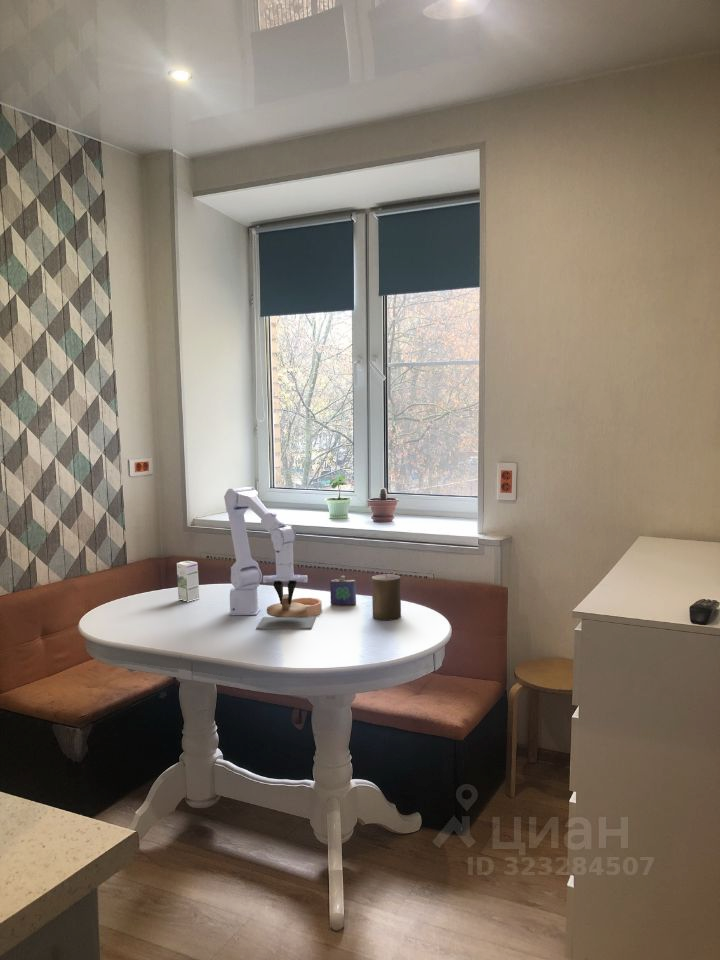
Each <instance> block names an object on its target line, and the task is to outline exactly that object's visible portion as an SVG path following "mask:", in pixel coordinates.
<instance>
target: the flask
mask: <svg viewBox="0 0 720 960" xmlns="http://www.w3.org/2000/svg"><path fill="white" fill-rule="evenodd" d="M345 577H346V576H345V575H340V578H337V579H336V578H335V579H331V580H330V582H329V584H330V585H329V586H330V606H334V607H337V606H338V607H343V606H348V607H349V606H351V607H352V606H356V604H357V592H356V591H357V590H356V589H357V588H356V584H357V583H356V580H355V579H347V580H346V579H345Z"/></svg>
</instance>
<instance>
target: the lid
mask: <svg viewBox="0 0 720 960" xmlns="http://www.w3.org/2000/svg"><path fill="white" fill-rule="evenodd" d="M305 612H306V606H305V605H304V604H301V603H296V602H292V603H291V604H289V603H288V593H286V594H285V593H283V597H282V604H281V603H280V602H278V603H274V604H271V605H269V606H267V608H266V614H267V615H268V616H269V617H295V616H298V615H301V614H303V613H305Z"/></svg>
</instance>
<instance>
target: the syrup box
mask: <svg viewBox="0 0 720 960" xmlns="http://www.w3.org/2000/svg"><path fill="white" fill-rule="evenodd" d="M198 567H199V565H198V562H197V561H191V560H184V561H180V562H176V574H177V575H176V576H177V593H178V594H177V595H178V600H179V599H182V600H186V601H189V600H193V599H197V598H199V599H200V588H199V587H200V586H199V570H198V569H199V568H198Z"/></svg>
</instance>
